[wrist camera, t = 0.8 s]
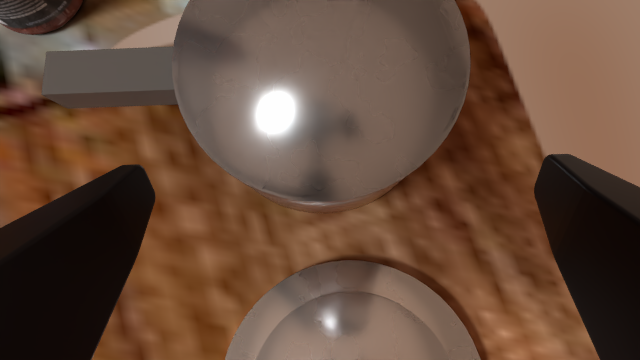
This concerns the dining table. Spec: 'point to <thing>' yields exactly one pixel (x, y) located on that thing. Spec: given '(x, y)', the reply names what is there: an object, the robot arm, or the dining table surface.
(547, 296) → the dining table surface
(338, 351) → the lid
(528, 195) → the dining table surface
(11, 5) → the supplement bottle
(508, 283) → the dining table surface
